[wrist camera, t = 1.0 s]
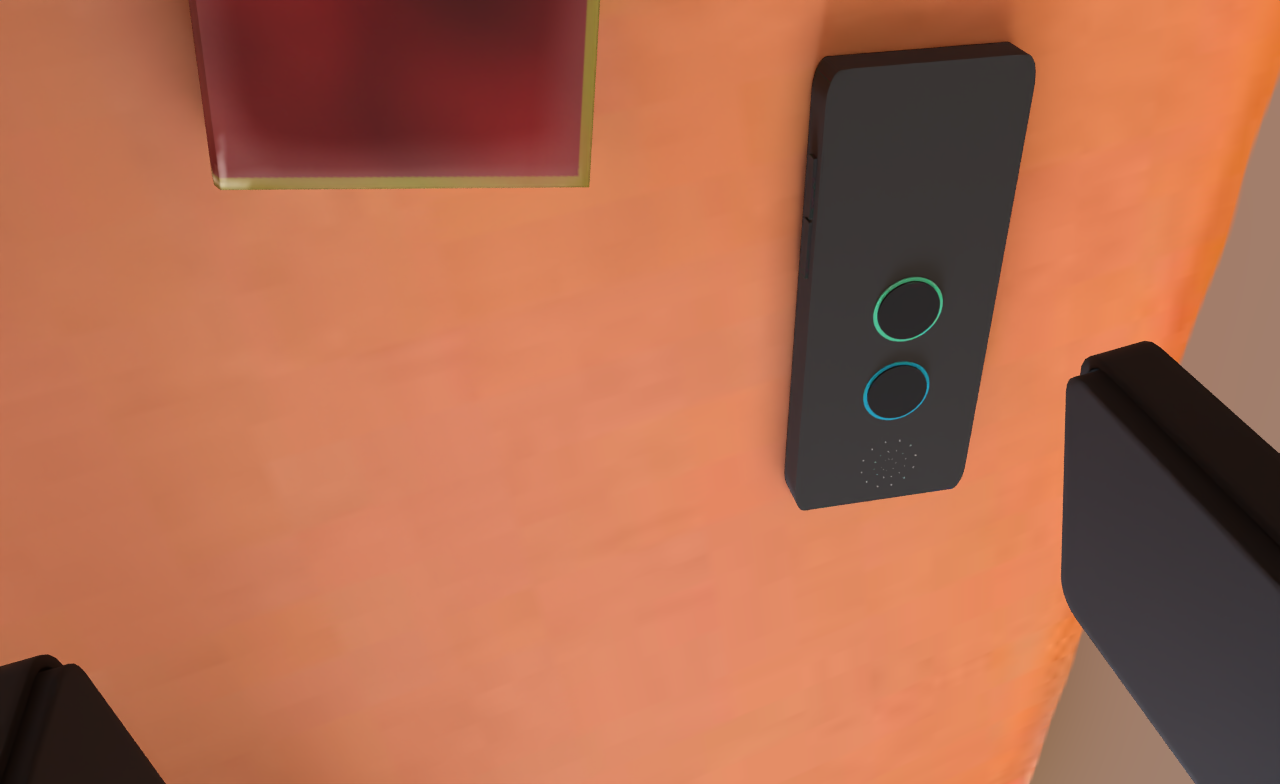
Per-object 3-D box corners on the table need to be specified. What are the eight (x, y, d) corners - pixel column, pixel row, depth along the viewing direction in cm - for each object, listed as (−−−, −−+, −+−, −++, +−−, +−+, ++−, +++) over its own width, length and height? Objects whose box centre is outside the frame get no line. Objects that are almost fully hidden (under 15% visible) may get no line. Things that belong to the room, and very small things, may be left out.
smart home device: (791, 515, 51) (825, 72, 39) (779, 491, 52) (809, 56, 41) (965, 489, 52) (1046, 53, 41) (949, 466, 53) (1023, 39, 42)
